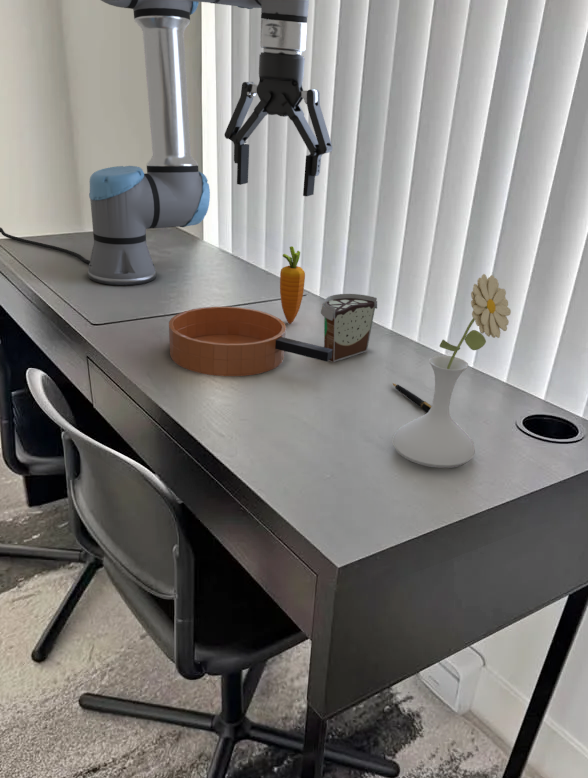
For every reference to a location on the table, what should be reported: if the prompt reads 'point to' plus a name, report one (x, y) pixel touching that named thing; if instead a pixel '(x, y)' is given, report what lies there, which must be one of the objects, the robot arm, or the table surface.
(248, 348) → the pan
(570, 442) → the table surface
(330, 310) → the food container
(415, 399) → the fountain pen
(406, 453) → the flower in vase
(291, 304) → the carrot
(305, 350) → the pan handle
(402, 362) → the table surface
